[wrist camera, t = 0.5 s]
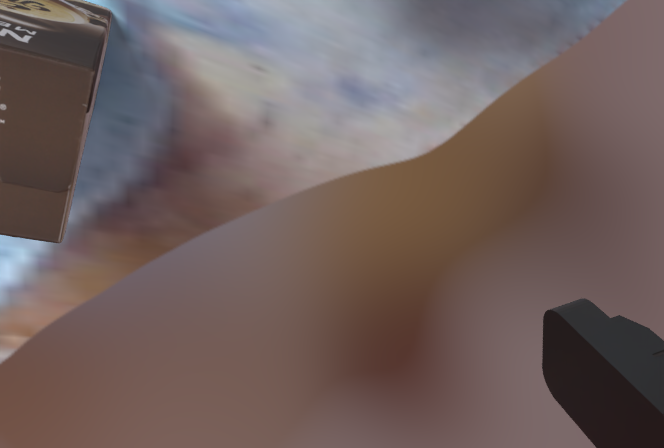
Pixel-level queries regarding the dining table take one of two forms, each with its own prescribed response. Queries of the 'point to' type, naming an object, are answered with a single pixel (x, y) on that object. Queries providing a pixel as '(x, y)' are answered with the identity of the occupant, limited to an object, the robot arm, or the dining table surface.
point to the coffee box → (46, 108)
